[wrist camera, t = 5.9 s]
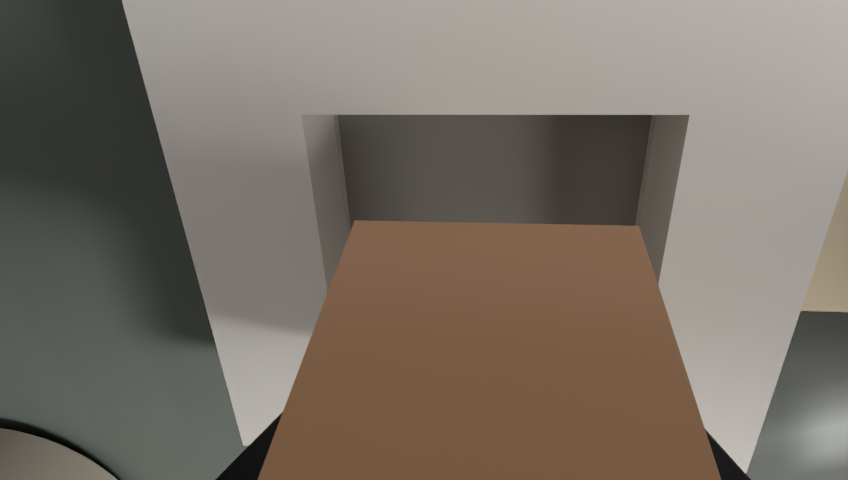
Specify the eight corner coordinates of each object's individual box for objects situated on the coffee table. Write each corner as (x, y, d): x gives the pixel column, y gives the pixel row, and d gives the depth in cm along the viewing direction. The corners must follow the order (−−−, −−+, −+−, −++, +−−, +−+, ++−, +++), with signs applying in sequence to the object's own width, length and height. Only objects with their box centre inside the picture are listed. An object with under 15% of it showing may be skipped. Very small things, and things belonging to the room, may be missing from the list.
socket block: (822, -66, 11) (940, -21, 8) (709, 372, 17) (755, 497, 14) (196, -48, 12) (97, -5, 9) (280, 356, 18) (234, 466, 15)
